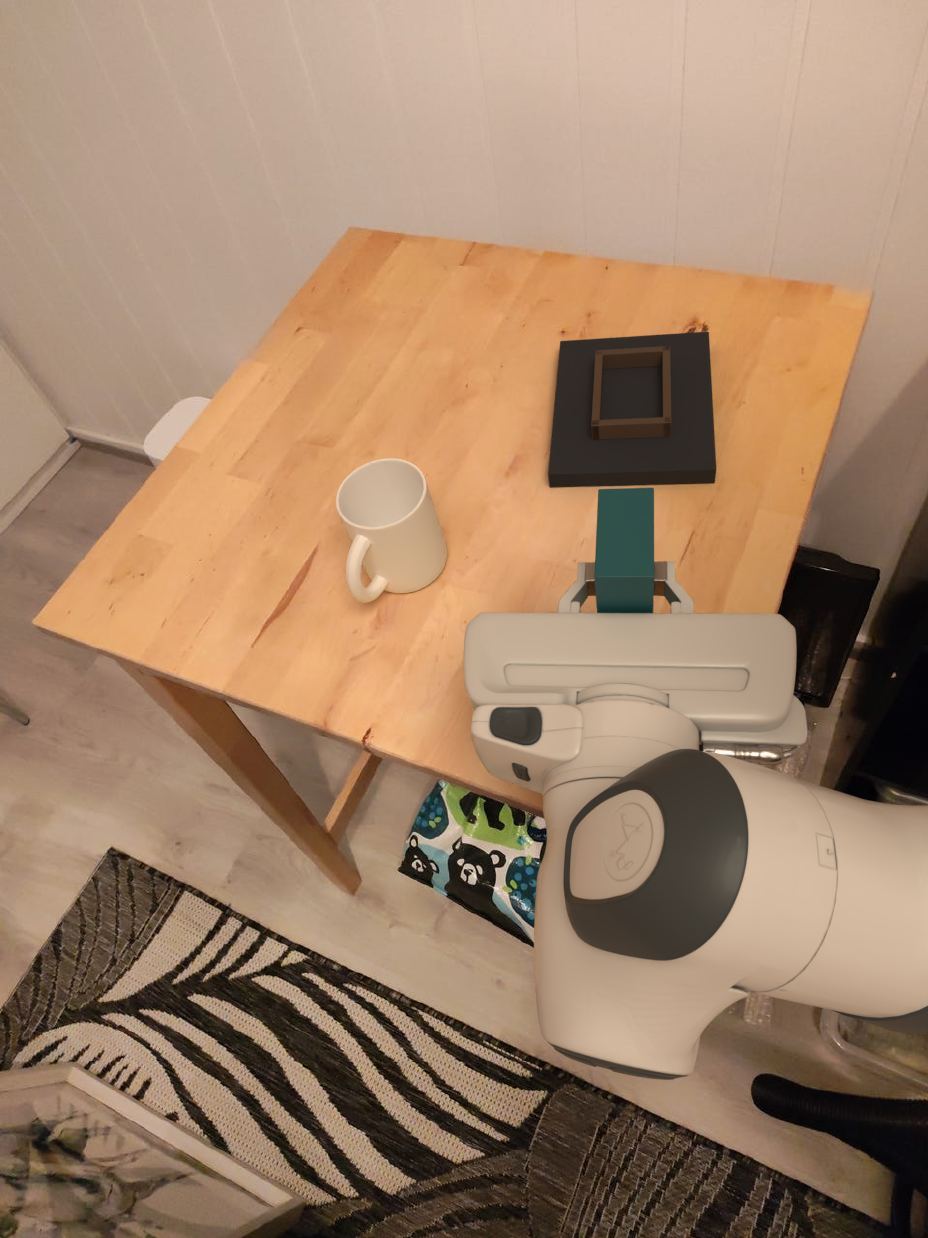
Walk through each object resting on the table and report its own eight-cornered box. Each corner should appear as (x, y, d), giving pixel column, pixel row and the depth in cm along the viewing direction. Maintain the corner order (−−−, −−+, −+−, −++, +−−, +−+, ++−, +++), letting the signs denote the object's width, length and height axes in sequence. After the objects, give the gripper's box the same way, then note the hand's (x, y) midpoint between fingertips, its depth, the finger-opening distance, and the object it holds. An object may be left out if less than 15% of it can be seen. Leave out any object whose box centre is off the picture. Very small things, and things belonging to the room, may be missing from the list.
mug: (404, 638, 75) (375, 573, 66) (332, 612, 78) (294, 546, 69) (463, 541, 80) (443, 469, 71) (393, 520, 83) (365, 449, 74)
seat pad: (707, 346, 88) (710, 315, 85) (714, 483, 78) (718, 454, 75) (561, 354, 92) (558, 325, 89) (549, 487, 81) (546, 459, 78)
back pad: (651, 586, 60) (654, 487, 51) (651, 668, 57) (654, 576, 47) (603, 586, 61) (598, 488, 52) (601, 667, 57) (594, 577, 48)
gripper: (822, 743, 42) (797, 534, 49) (443, 729, 47) (471, 540, 54) (802, 787, 47) (782, 592, 55) (463, 771, 52) (486, 593, 59)
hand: (625, 566), depth 54 cm, fingers closed on back pad, 3 cm apart
